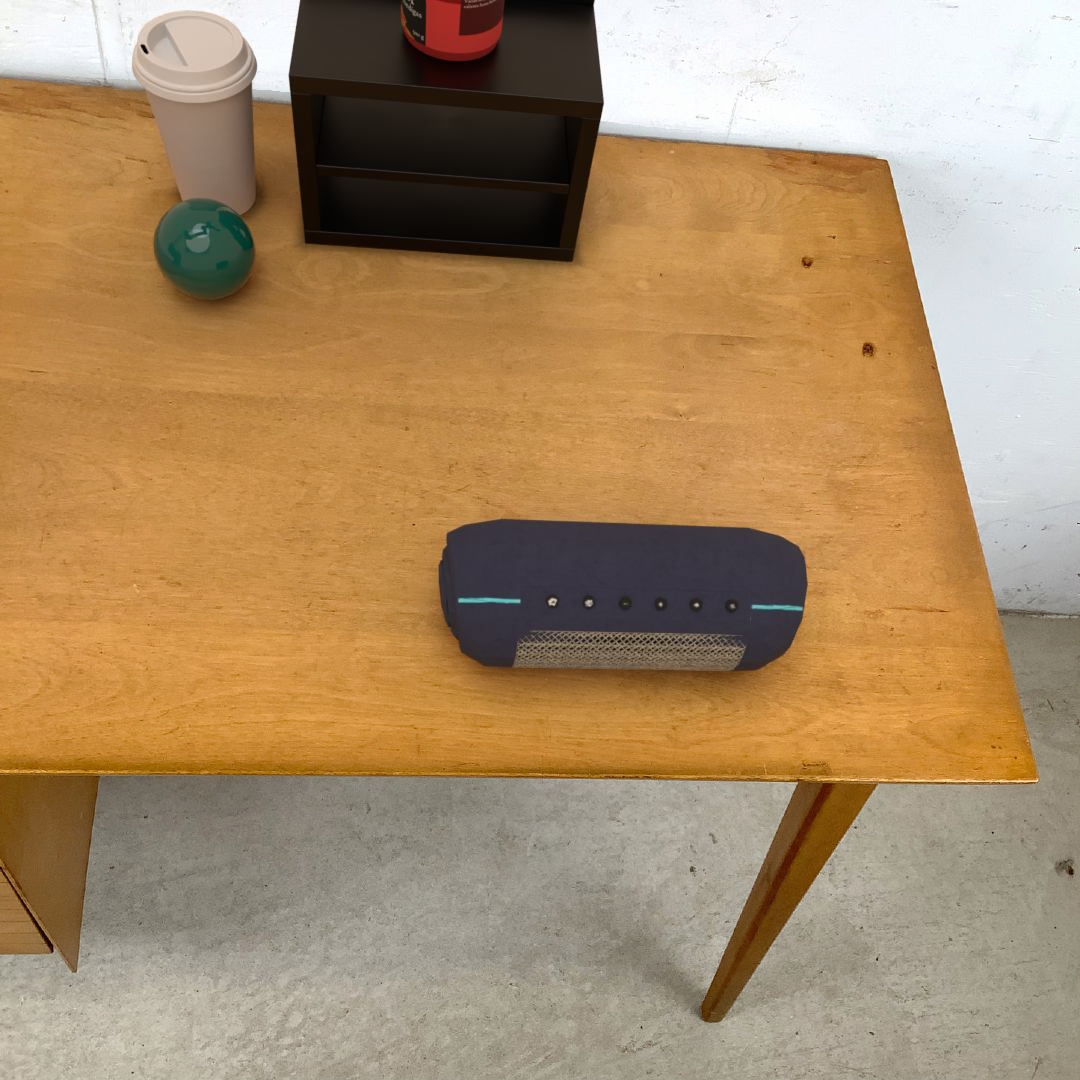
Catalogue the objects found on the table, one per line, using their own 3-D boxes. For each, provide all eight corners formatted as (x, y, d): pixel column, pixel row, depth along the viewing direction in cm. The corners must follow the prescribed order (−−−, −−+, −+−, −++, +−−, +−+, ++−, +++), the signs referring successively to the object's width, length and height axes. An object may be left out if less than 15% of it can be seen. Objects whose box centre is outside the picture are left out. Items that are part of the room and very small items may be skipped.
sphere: (273, 308, 85) (262, 235, 78) (176, 329, 83) (156, 255, 76) (246, 244, 89) (234, 168, 82) (153, 262, 86) (132, 186, 80)
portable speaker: (434, 690, 69) (439, 625, 61) (436, 563, 74) (441, 487, 66) (786, 694, 72) (838, 633, 64) (765, 573, 77) (811, 501, 69)
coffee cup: (167, 158, 93) (131, 0, 80) (274, 161, 95) (256, 7, 82) (159, 231, 88) (119, 75, 76) (272, 233, 90) (252, 81, 77)
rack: (572, 262, 93) (608, 79, 77) (304, 243, 90) (285, 49, 74) (565, 160, 100) (597, -25, 84) (317, 140, 97) (302, -56, 81)
